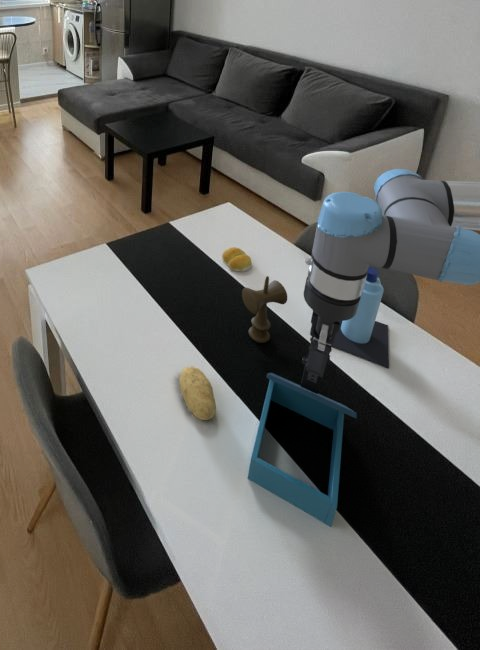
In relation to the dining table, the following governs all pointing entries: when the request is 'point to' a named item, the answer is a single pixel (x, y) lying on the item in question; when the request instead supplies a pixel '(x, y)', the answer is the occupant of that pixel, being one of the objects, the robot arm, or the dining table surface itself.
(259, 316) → the kendama
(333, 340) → the robot arm
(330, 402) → the lid
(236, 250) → the bread roll
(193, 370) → the potato
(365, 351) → the mat
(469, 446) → the dining table surface
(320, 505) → the blue open box
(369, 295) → the water bottle
